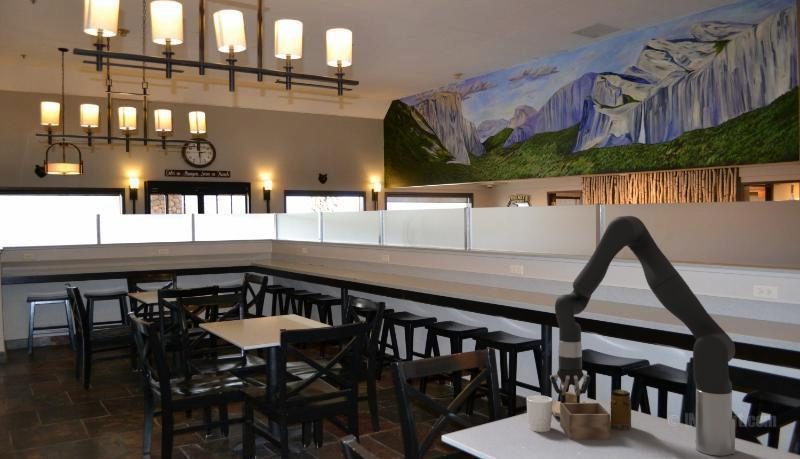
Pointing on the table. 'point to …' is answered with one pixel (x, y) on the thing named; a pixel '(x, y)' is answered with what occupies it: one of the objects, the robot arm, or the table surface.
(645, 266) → the robot arm
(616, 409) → the condiment
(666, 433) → the table surface
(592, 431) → the box
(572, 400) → the lid
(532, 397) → the white cup
